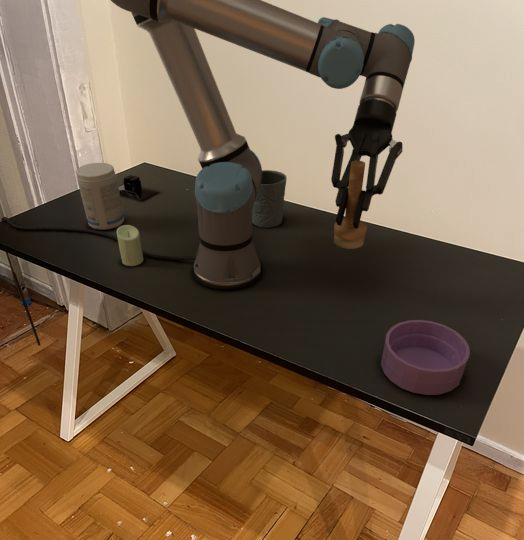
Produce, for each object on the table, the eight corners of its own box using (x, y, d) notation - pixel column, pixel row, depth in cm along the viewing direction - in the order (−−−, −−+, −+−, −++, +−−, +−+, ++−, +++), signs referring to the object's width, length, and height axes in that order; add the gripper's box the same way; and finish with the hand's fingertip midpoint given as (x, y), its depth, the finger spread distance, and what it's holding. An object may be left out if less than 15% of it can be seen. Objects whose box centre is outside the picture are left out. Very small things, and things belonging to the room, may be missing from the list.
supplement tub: (124, 214, 144) (115, 160, 134) (125, 229, 137) (115, 174, 127) (88, 217, 142) (76, 163, 133) (87, 233, 135) (74, 177, 126)
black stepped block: (110, 192, 155) (107, 177, 152) (126, 184, 160) (124, 169, 157) (142, 201, 150) (139, 185, 147) (158, 192, 155) (156, 177, 152)
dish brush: (327, 244, 105) (334, 164, 94) (341, 231, 109) (349, 154, 99) (356, 252, 102) (367, 171, 92) (369, 239, 106) (381, 160, 96)
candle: (147, 262, 123) (142, 230, 118) (127, 268, 121) (121, 236, 116) (138, 253, 127) (132, 222, 121) (118, 259, 124) (112, 228, 119)
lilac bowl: (368, 377, 93) (372, 351, 89) (397, 336, 102) (402, 311, 98) (446, 408, 87) (455, 382, 83) (470, 362, 96) (479, 336, 92)
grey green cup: (252, 230, 136) (252, 185, 129) (244, 214, 144) (243, 171, 136) (289, 226, 138) (291, 182, 131) (279, 210, 146) (280, 168, 138)
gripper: (418, 124, 102) (388, 238, 100) (340, 115, 106) (310, 224, 105) (419, 101, 95) (387, 224, 93) (336, 93, 99) (304, 210, 98)
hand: (346, 224), depth 99 cm, fingers closed on dish brush, 3 cm apart
